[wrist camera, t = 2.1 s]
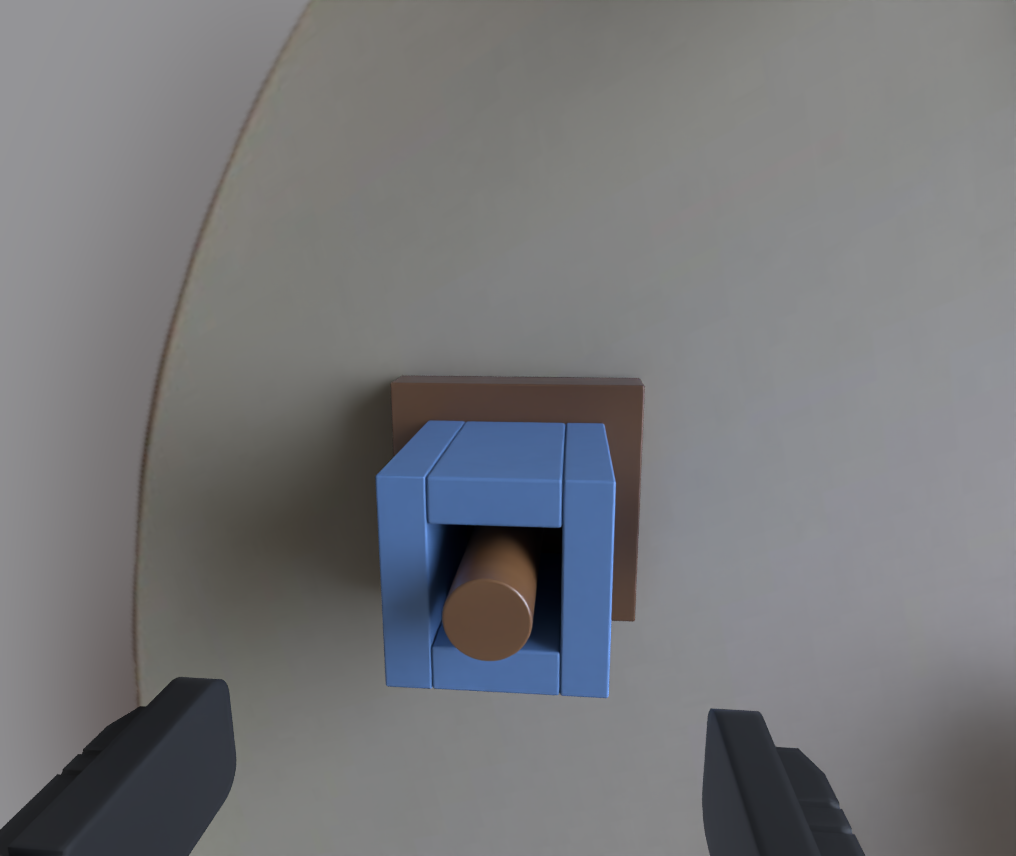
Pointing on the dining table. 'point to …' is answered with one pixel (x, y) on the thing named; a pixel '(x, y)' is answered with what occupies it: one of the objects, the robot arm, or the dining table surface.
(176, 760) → the robot arm
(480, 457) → the blue pencil cup
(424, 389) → the dowel stand
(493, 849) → the dining table surface
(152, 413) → the dining table surface
